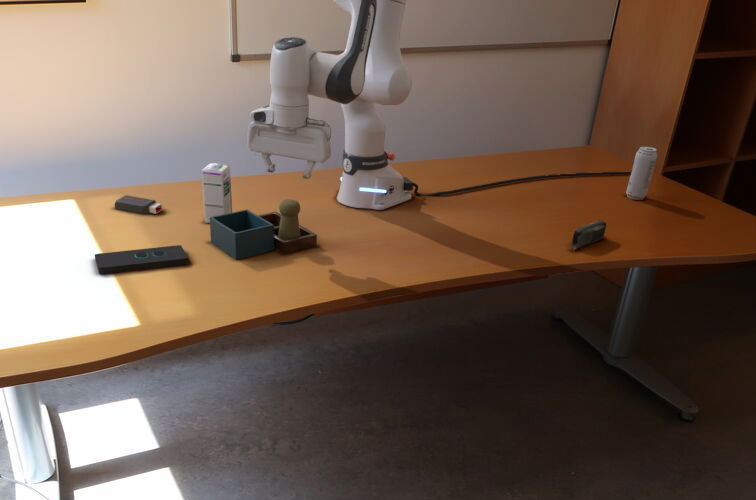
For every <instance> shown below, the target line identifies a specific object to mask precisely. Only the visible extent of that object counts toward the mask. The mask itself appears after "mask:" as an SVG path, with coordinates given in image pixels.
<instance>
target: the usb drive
mask: <svg viewBox="0 0 756 500" xmlns="http://www.w3.org/2000/svg"><path fill="white" fill-rule="evenodd" d="M114 209H115V210H119V211H125V212H130V213H136V214H141V215H149V214H153V215H154V214H155V215H156V214H158V213H160V212H162V211H163V204H162V203H159V202H157V201H156V199H150V198H145V197H138V196H133V195H128V194H127V195H126V194H125V195H123V196H122V197H119V198H118V199H116V200H115V202H114Z"/></svg>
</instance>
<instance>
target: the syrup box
mask: <svg viewBox="0 0 756 500" xmlns="http://www.w3.org/2000/svg"><path fill="white" fill-rule="evenodd" d="M200 172H201V183H202V199H203V211H204V223H206V224H210V217H214V216H218V215H223V214H228V213H233V202H232V184H231V183H232V182H231V181H232V180H231V166H230V165H228V164H224V163H218V162H217V163H215V162H213V163H212V162H211V163H208V164H207V165H206V166H205V167H204V168H202V169H201V171H200Z"/></svg>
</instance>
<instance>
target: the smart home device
mask: <svg viewBox="0 0 756 500" xmlns="http://www.w3.org/2000/svg"><path fill="white" fill-rule="evenodd" d="M94 259H95V260H94V261H95V263H96V264H95V265H96V268H97V271H98V274H99V275H105V274H113V273H114V274H115V273H124V272H132V271H140V270H149V269H150V270H151V269H159V268H166V267H175V266H185V265H188V264H189V257H188V255H187V254H186V252H185V249H184V247H183V246H182V245H181V244H178V245H167V246H157V247H149V248H148V247H147V248H140V249H139V248H138V249H129V250H120V251H111V252H100V253H95V254H94Z"/></svg>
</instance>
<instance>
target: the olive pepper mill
mask: <svg viewBox="0 0 756 500" xmlns="http://www.w3.org/2000/svg"><path fill="white" fill-rule="evenodd" d="M278 210H279V214H281V220H280V227H279V234H278V237H280V238H282V239H283V240H289V239H294V238H298V237H301V236H300V228H299V225H300V220H299V214H300V212H301V204H300V202H299V201H297V200H295V199H291V198H289V199H284V200H281V201H280V202H279V205H278Z"/></svg>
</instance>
